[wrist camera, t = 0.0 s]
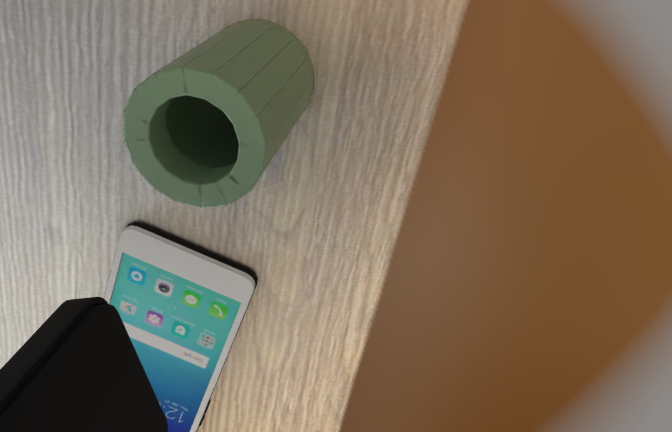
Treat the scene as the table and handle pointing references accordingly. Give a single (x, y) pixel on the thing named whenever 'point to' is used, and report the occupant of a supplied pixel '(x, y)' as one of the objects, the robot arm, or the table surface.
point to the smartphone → (178, 316)
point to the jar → (218, 113)
